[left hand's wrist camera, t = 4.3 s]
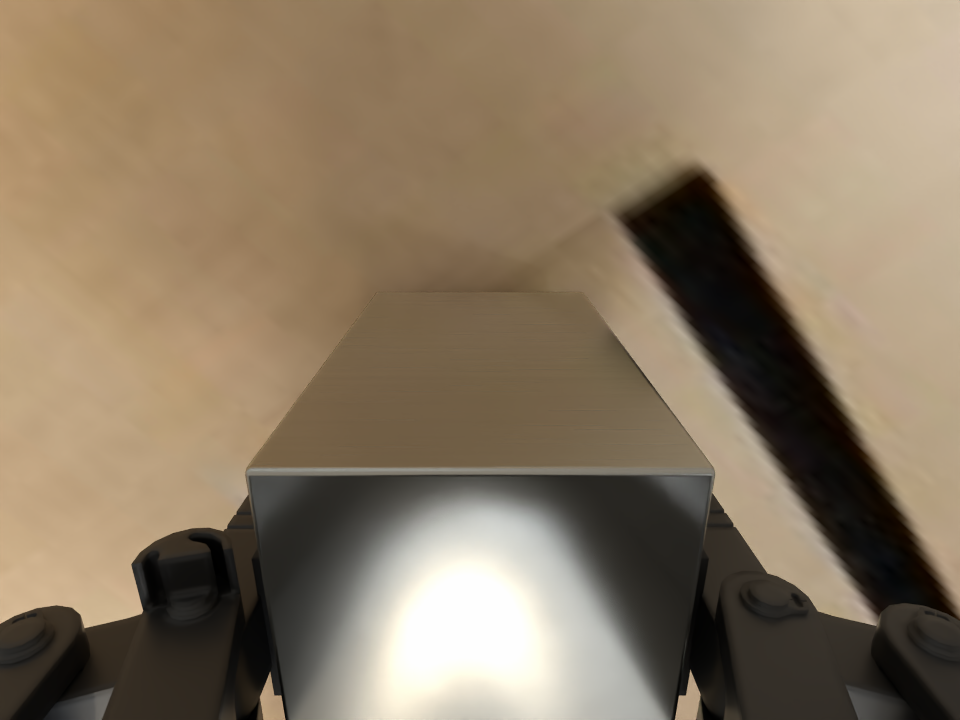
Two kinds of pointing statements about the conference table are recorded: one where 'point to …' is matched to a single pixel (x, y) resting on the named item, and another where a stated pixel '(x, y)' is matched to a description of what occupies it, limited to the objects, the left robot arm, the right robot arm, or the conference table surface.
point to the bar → (480, 519)
